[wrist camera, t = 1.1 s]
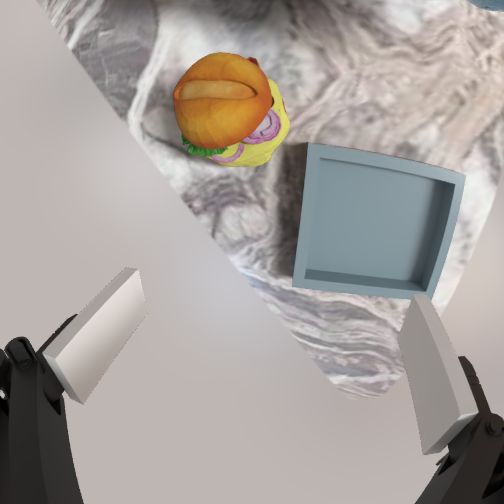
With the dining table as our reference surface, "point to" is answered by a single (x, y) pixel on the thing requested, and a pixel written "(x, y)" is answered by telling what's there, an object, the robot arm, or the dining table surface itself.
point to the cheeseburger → (230, 111)
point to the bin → (374, 223)
